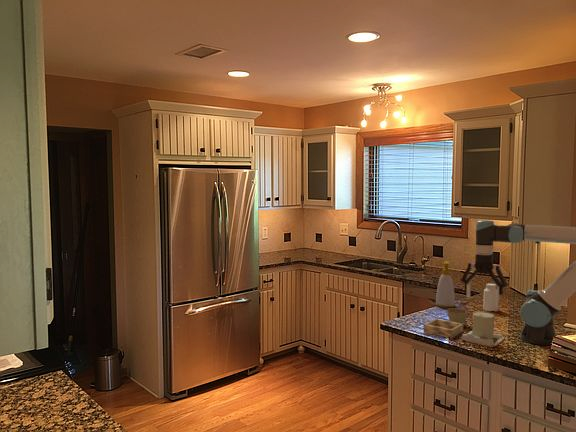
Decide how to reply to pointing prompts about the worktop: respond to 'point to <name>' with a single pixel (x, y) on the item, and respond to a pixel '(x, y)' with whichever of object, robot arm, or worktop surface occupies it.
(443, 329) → the open box
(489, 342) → the white square frame
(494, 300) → the pill bottle
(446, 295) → the soap bottle
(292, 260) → the worktop surface
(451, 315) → the flower pot
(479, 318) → the can
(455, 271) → the worktop surface
